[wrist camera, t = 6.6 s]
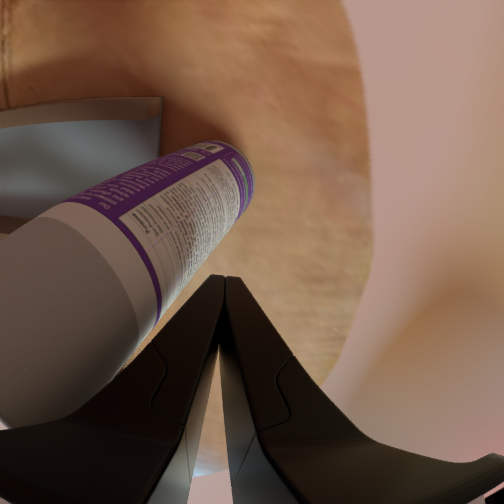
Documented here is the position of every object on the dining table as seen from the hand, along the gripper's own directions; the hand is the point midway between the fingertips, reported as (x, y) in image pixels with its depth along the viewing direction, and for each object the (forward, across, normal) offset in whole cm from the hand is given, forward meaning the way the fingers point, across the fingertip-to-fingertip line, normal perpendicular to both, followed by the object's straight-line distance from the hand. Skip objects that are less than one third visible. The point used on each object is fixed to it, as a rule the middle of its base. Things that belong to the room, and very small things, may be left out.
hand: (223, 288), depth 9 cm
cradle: (+10, +12, 0) cm, 16 cm away
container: (+10, +1, 0) cm, 10 cm away
